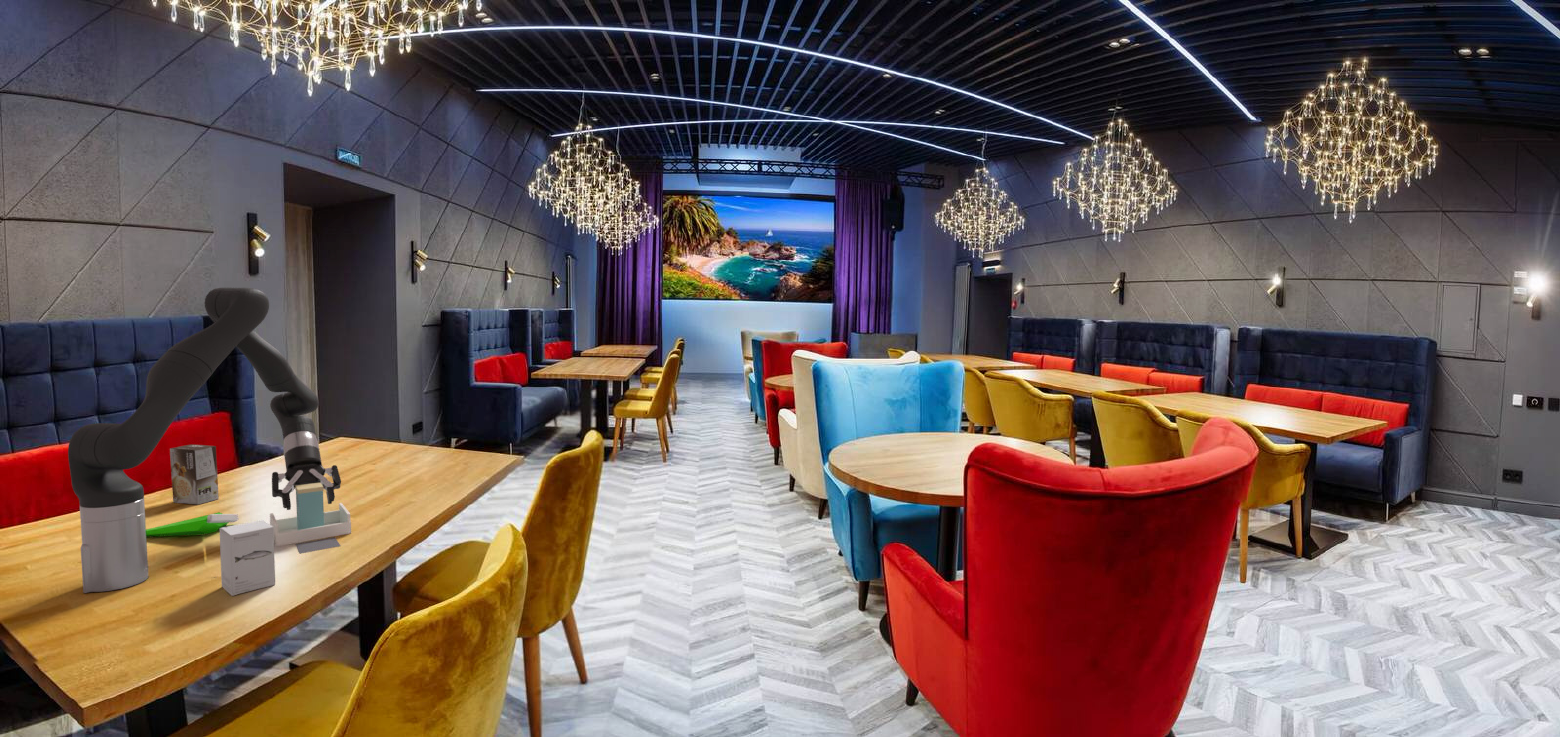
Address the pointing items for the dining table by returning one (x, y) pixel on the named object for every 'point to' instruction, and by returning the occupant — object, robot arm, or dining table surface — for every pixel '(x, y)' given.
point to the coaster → (317, 545)
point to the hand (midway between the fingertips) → (310, 505)
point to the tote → (333, 526)
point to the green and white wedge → (194, 525)
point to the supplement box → (247, 557)
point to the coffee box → (194, 474)
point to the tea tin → (309, 505)
